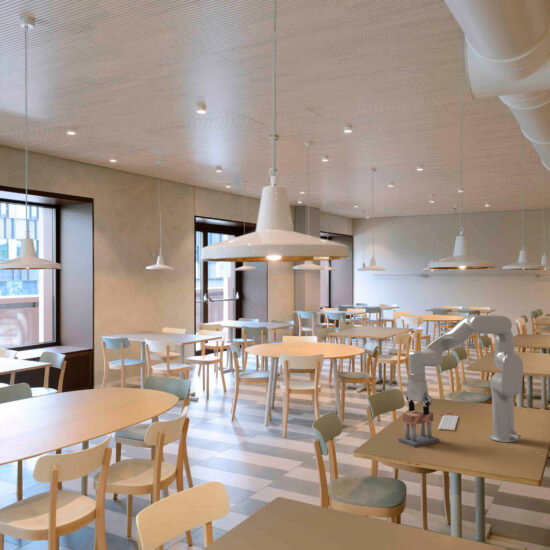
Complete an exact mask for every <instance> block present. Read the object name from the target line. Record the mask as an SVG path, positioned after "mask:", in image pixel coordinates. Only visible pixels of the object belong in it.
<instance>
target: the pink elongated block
mask: <svg viewBox="0 0 550 550" xmlns="http://www.w3.org/2000/svg"><path fill="white" fill-rule="evenodd" d="M427 422H431V423H432V422H434V412H432V411H429V414H428V415H424V414H423V410H417V411H415V412H414V411H411V412H408V413H407V412H406V413H402V423H403V424H405V423H406V424H409V426H412V425H416V426H417V425H421V423H426V424H427Z"/></svg>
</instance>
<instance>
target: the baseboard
mask: <svg viewBox="0 0 550 550" xmlns="http://www.w3.org/2000/svg"><path fill="white" fill-rule="evenodd" d="M447 414H448V415H447ZM447 414H444V415H441V419H440V422H439V425H438V426H437V428H436V429H437V431H443V430H447V432H455V431H456V428H457V424H458V421H459V415H457V414H454V415H453V413H452V412H451V413H450V412H448V413H447Z"/></svg>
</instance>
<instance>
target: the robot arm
mask: <svg viewBox="0 0 550 550" xmlns="http://www.w3.org/2000/svg"><path fill="white" fill-rule="evenodd" d="M512 329H513V324H512V321H511V319H510V318H509V317H508V316H505V315H497V314H489V315H481V314H473V313H471V314H468V315H466V316H465V317H463V318H462V319H461V320H460V321H458V323H456V325H454V326H453V327H452V328H450V330H449V331H447V332H446V333H444V334H442V335H441V336H439V337H437V338H435V339H434V340H433V341H432V342H431V343H429V344H428V345H427V346H426V347H425V348H424V349H422V351H421V350H413V351H412V350H411V351H410V352H409V353H408V377H409V378H408V381H407V388H406V389H407V390H406V391H405V393H404V395H405V398H406V400H407V403H408V411H409V412H414V411H415V410H416V409H415V402H416V403H417V402H418V403H422V405H423V407H422V409H423V410H422V411H423V414H424V415H428V414H429V412H430V406H431V404H432V401H433V397H431V395H429V389H428V383H427V379H426V367H435V368H436V367H439V366H440V365H441V364H442V363H443V356H442V354H443V353H445V352H446V351H448V350H451V349H453V348H457V347H460V346H462V345H463V344H464V343H465V342H466V341H467V340H468V339H469V338H471V337H472V336H473V335H474V334H475V333H476V334H485V335H486V334H487V335H488V334H489V335H490V334H491V335H493V337H494V340H495V341H494V346H495V347H494V357H493V358H494V359H493V364H494V366H495V367H496V368H497V369H498V370H500V371H501V372H497V373H495V374H493V375H492V376H491V378H490V380H489V387H490V392H491V402H492V403H491V404H492V405H491V406H492V407H491V410H492V414H491V415H492V433H491V434H489V439H491V440H493V441H496V442H499V443H500V442H501V443H515V442H518V441H520V439H521V434H517V430H515V418H514V417H515V416H514V415H515V411H514V410H515V408H514V405H515V404H514V397H516V396H518V395H519V394H520V393H521V390H522V388H523V387H522V386H523V377H524V363H523V360H522V358H521V357H520V355H518V354H516V353H515V338H514V334H513V331H512Z"/></svg>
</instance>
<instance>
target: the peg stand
mask: <svg viewBox="0 0 550 550" xmlns="http://www.w3.org/2000/svg"><path fill="white" fill-rule="evenodd" d="M404 428H405V429H404V430H405V431H404V433H405V434H404V435H405V436H402V437H398V438H397V441H399V443H401V444H405V445H406V446H409V445H410V447H413V448H417V447H422V446H426V445H431V444H434V443H439V442H440V438H438V437H435V436H432V435H433V434H432V421H431V422H426V425H425V423H421V424H420V433H418V434H417V424H416V425H411V429H410V425H409V424H406V423H404ZM410 430H411V435H410ZM426 430H427V432H426Z"/></svg>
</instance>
